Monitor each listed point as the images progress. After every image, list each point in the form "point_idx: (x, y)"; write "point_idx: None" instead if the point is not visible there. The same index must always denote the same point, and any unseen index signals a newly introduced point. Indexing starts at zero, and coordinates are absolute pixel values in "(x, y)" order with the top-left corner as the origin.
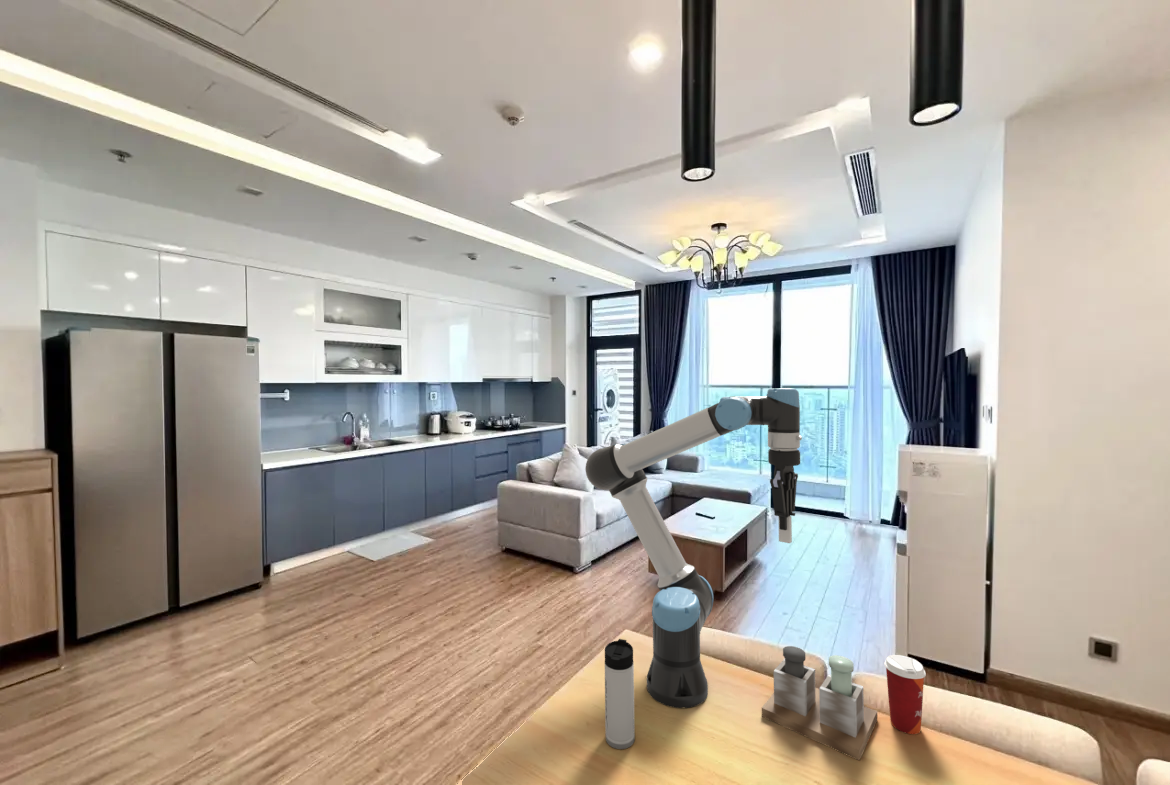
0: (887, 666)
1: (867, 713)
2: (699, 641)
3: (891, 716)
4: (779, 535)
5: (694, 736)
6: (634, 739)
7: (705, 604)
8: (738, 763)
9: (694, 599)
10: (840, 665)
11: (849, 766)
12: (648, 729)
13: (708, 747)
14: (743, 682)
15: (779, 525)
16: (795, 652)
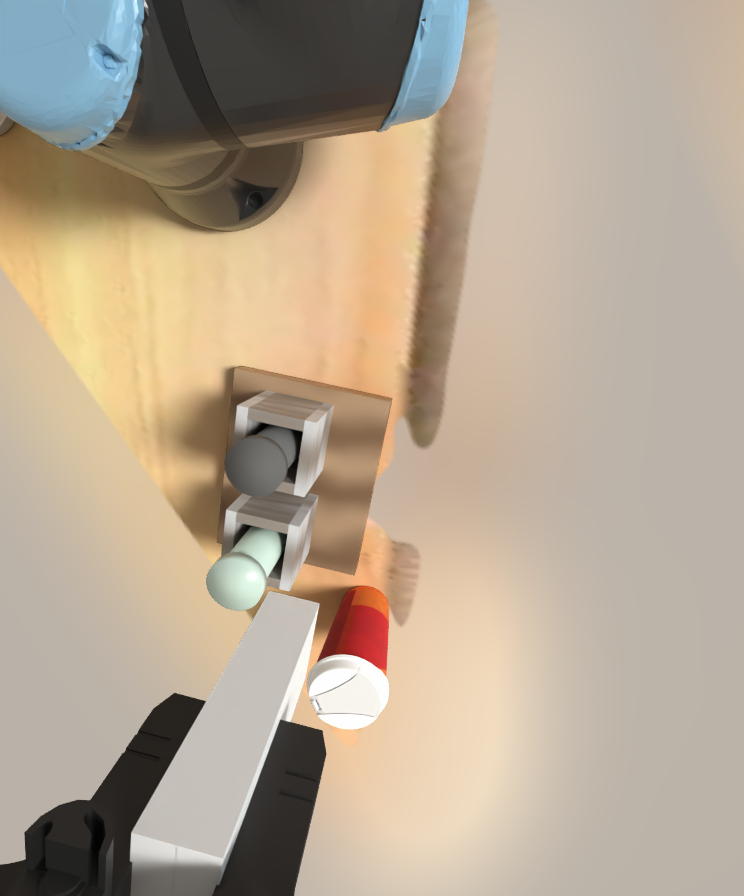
0: (331, 660)
1: (336, 559)
2: (160, 174)
3: (351, 595)
4: (250, 630)
5: (100, 251)
6: (3, 132)
7: (261, 117)
8: (91, 352)
9: (56, 89)
10: (212, 584)
11: (201, 519)
12: (54, 145)
13: (91, 289)
14: (346, 298)
15: (139, 729)
16: (250, 472)
